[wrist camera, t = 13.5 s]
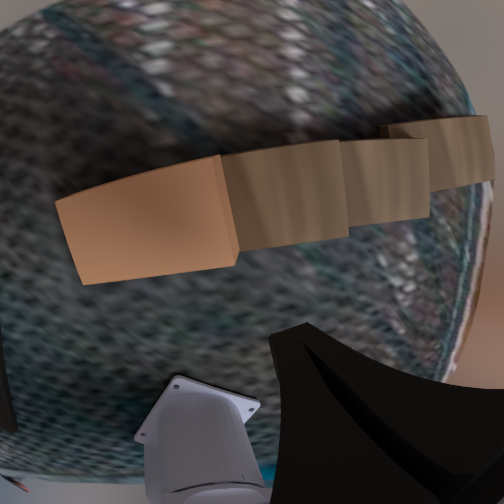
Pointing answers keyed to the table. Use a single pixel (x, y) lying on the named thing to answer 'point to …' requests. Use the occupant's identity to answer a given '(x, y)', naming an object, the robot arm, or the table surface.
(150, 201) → the domino
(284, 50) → the table surface
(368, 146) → the domino
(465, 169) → the domino
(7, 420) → the remote control
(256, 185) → the domino
